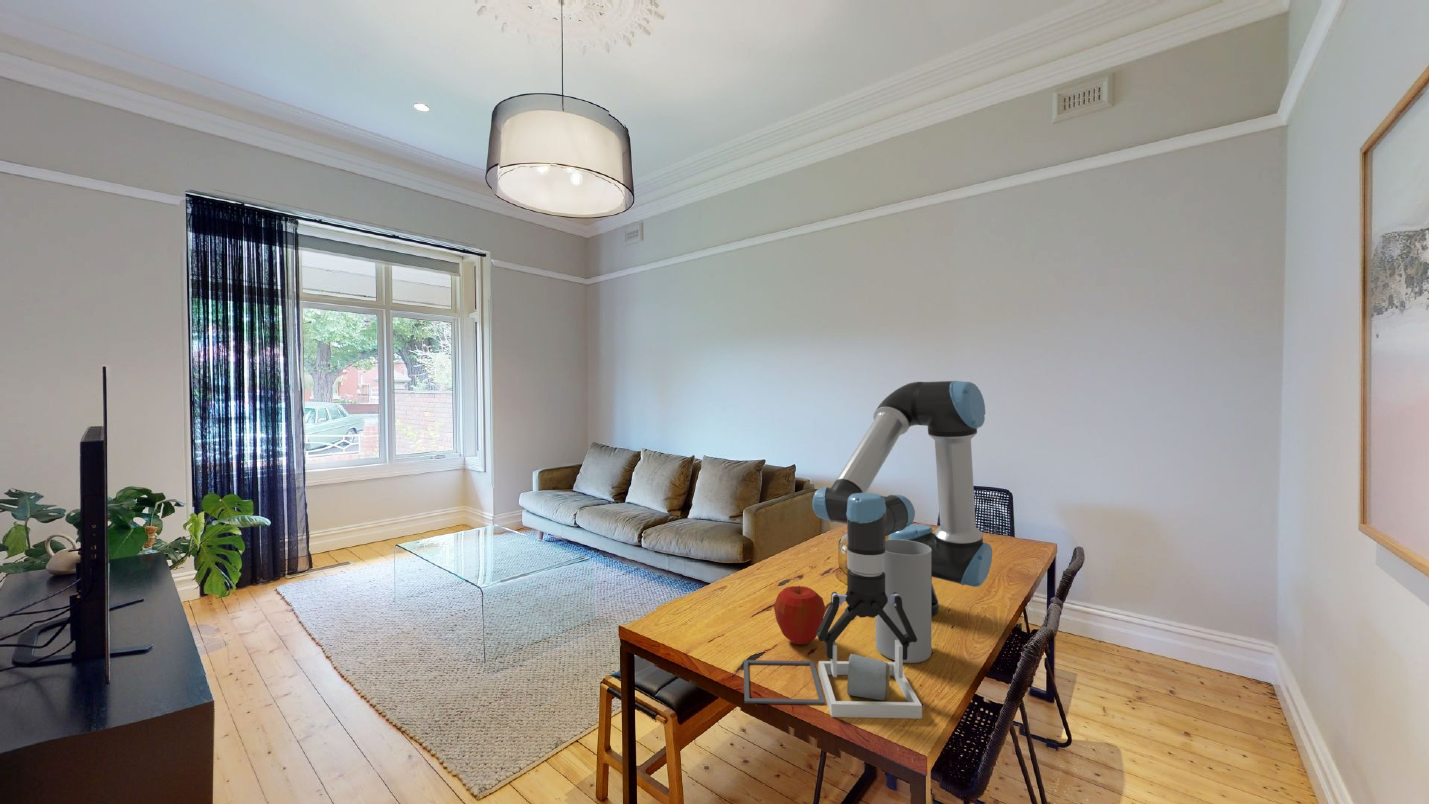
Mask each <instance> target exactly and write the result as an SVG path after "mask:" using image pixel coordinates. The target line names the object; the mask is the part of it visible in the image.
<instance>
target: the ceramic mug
mask: <svg viewBox="0 0 1429 804" xmlns="http://www.w3.org/2000/svg"><path fill="white" fill-rule="evenodd" d="M848 661H849V666H848V675H847V685H846V687H847V689H846V693H847V695H848V696H853V697H859V698H866V699H872V700H875V701H877V700H878V701H887V700H888V699H889V697H890V677H891V676H890V666H889V664H888V663H886V662H887V661H883V660H880V659H875V658H871V657H867V656H862V655H858V654H854V653H850V654H849V656H848Z"/></svg>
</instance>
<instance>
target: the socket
mask: <svg viewBox="0 0 1429 804" xmlns="http://www.w3.org/2000/svg"><path fill="white" fill-rule="evenodd" d="M885 662H886V663H888V664H889V666H890V676H889V677H893V678H894V679H895V681H896V684H897V686H898V687H899V689H900V690H901V693H902V695H903V696H904V697H905V700H906V701H862V700H861V701H855V700H854V701H853V700H849V701H848V700H845V701H844V700H836V698H835V694H834V691H833V688H832V684H831V682H830V681H831V680H830V679H829V676H830V675H831V676H833V675H832V672H831V660H819V661H818V675H819V680H820V683H821V687H822V688H823V694H824V697H825V701H826V703H827V706H828V710H829V712H830V717H831V718H863V719H864V718H865V719H866V718H868V719H869V718H870V719H871V718H872V719H873V718H874V719H915V720H916V719H917V720H920V719H923V705H922V704H921V702H920V700H919V698H918V696H917V694H916V692H915V691H914V690H913V688H912V686H911V684H910V682H909V681H908V679H907V678H906V676H905V674H904V673H903V678H899V677H898V676H897V674H896V672H895V661H885ZM848 666H849V660H847V661H845V660H844V661H841V660H839V661H838V660H837V676H848ZM828 675H829V676H828Z"/></svg>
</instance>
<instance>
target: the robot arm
mask: <svg viewBox="0 0 1429 804" xmlns="http://www.w3.org/2000/svg"><path fill="white" fill-rule="evenodd" d="M984 400H985V399H984V397H983V394H982V392H981V390H980V388H979V387H978V386H977V385H976V384H975V383H973V382H970V381H961V380H960V381H959V380H946V381H945V380H943V381H942V380H941V381H914V382H910V383H906V384H905V385H902V386H900V387H899V388H897V389H895V390H894V391H892V392H891V393H890V394H889V395H888V396H886V397H885V398H884V399H883V400H882V401H881V402H880V403H879V405H878V406H877V408H876V409H875V410H874V413H873V422H872V423H871V425H870V426H869V427H868V430H867V431H866V433H865V434H864V435H863V437H862V439H861V440H860V442H859V443H858V445H857V446H856V448H855V450H854V451H853V453H851V454H852V455H851V456H850V457H849V459H848V461H847V462H846V464H845V465H844V467H843V468H842V470H841V472H840V473H839V474H838V476H837V478H836V480H835V481H834V482H833V484H832V486H831V487H828V486H827V487H825V486H824V487H820V488H818V489H817V490H816V491H815V492H814V494H813V497H812V501H811V502H812V511H813V512H814V514H815V515H816V517H817V518H819V519H822V520H825V521H829V522H832V523H833V522H835V523H840V524H845V525H846V532H847V534H846V535H847V551H846V552H847V553H846V556H847V557H846V558H847V559H846V560H847V561H846V562H847V565H846V567H847V568H848V570H846V576H847V577H846V578H847V579H846V581H847V582H846V585H847V586H846V587H847V589H846V591H845V594H843V593H842V594H840V593H837V592H836V591H832V592H831V597H830V604H829V605H828V608H827V610H826V611H825V613H824V616H823V620H822V622H821V624H820V626H819V629H818V631H817V636H816V637H817V638H818V640H819V642H823V643H825V654H826V657H827V659H828V660H830V661H831V672H832V675H831V676H832V677H833V678H838V675H837V661H838V645H837V642H836V641H837V639H838V638H839V637H840V636H841V634H842V633H843V632H844V631H845V630H846V628H847V627H848V625H849V624H850V623H851V622H852V621H854V620H855V619H856V617H859V618H866V617H867V618H872V619H873V618H874V619H876V616H877V615H879V616H880V617H881V618H882V619H883V621H884V622H885V623H886V624H887V625H888V627H889V628H890V629H891V630H892V632H893V633H894V634H895V635H896V637H897V638H898V639H899V640H895V660H894V662H895V672H896V674H897V676H898V677H899V678H903V674H904V672H903V671H904V669H903V667H904V666H903V665H904V664H903V660H907V647H909V643H911V642H917V637H916V635H915V633H914V631H913V629H912V627H911V625H910V622H909V620H908V618H907V616H906V614H905V612H904V610H903V607H902V598H901V597H900V596H899V595H898V593H896V592H894V593H893V594H892V595H886V593H885V573H884V571H885V570H886V569H885V540H886V537H887V536H888V540H892V539H897V540H909V541H915V542H919V543H923V544H925V545H927V546H929V547H930V548H931V617H933V616H935V615H937V614H938V613H939V610H940V609H939V606H940V605H939V599H938V596H937V593H936V591H935V588H934V584H933V578H934V579H939V580H940V579H941V580H943V581H947V582H951V583H955V584H959V585H961V586H969V587H974V588H975V587H976V588H977V587H981V586H982V585H983V584H984V583H985V581H986V579H987V578H988V575H989V573H990V570H991V566H992V561H993V548H992V545H991V544H990V543H988V542H986V541H985V542H984V540H983V533H982V532H981V530H979V529H978V528H977V526H976V512H975V511H976V508H975V491H974V489H975V487H974V471H973V453H972V450H973V449H972V439H973V438H974V437H975V436H976V435H977V434H978V429H979V428H981V427H982V426H983V425H984V423H985V418H986V417H985V415H986V405H985V401H984ZM914 426H927V434H928V436H929V437H931V439H933V440H934V449H935V463H936V478H937V480H936V481H937V496H938V497H937V498H938V513H939V524H940V525H939V527H938V528H936V529H935V530H933V528H932V526H930V525H927V524H918V523H916V524H915V523H913V522H914V520H915V517H916V513H915V507H914V504H913V503H912V501H911V500H910V499H909V498H907V497H906V496H904V495H902V494H890V495H887V496H883V495H881V494H879V493H873V492H868V490H869V489H870V487H871V485H872V483H873V482H874V480H875V478H876V477H877V475H878V473H879V472H880V470H881V469H882V467H883V465H884V463H885V462H886V459H887V458H888V456H889V455H890V453H891V451H892V450H893V447H894V446H895V444H896V443H897V441H898V439H899V437H900V436H902V435H904V434H905V433H907V432H908V431H909V429H910V428H911V427H914ZM912 523H913V524H912ZM933 531H934V533H933ZM844 602H846V604H847V605H848V606H847V607H846V608H845V609H844V612H843V613H842V614H841V615H840V617H839V618H838V619H837V620H836V622H835V623H834V624H833V621H834V619H835V617H836V615H837V614H838V610H839V608H840V606H841V607H842V605H843V603H844ZM887 602H890V603H891V605H892V606H894V607H895V609H896V612H897V614H898V616H899V618H900V620H901V622H902V624H903V626H904V629H905V631H906V633H907V634H904V635H903V634H902V632H901V631H900V630H899V629H898V627H897V626H896V625H895V624H894V623H893V621H892V620H891V619H890V618H889V616H888V615H887V614H886V613H885V611H884V610H883V608H884V607H885V605H886V604H887Z"/></svg>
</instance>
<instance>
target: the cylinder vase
mask: <svg viewBox="0 0 1429 804" xmlns="http://www.w3.org/2000/svg"><path fill="white" fill-rule="evenodd" d="M885 569H886V570H885V571H884V573H885V593H886V595H892V594H893V593H894V592H896V593H898V595H899V596H900V597H901V598H902V607H903V610H904V612H905V614H906V616H907V618H908V620H909V622H910V625H911V627H912V629H913V631H914V633H915V635H916V637H917V642H911V643H909V647H907V660H903V663H905V664H918V663H923V662H925V661H927V660H929V659H930V657H931V655H932V616H931V548H930V547H929V546H927V545H925V544H923V543H919V542H915V541H909V540H897V539H892V540H889V539H885ZM883 610H884V611H885V613H886V614H887V615H888V616H889V618H890V619H891V620H892V621H893V623H894V624H895V625H896V626H897V627H898V629H899V630H900V631H901V632H902V634H903V635H904V634H907V633H906V631H905V629H904V626H903V624H902V622H901V620H900V618H899V616H898V614H897V612H896V609H895V607H894V606H892V605H891V603H890V602H887V604H886V605H885V607H884V608H883ZM895 640H899V639H898V638H897V637H896V635H895V634H894V633H893V632H892V630H891V629H890V628H889V627H888V625H887V624H886V623H885V622H884V621H883V619H882V618H881V617H880V616H879V615H877V616H875V648H876V650H877V651H878V653H880V655H882V656H884V657H885V658H887V659H890V660H893V661H895Z"/></svg>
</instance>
